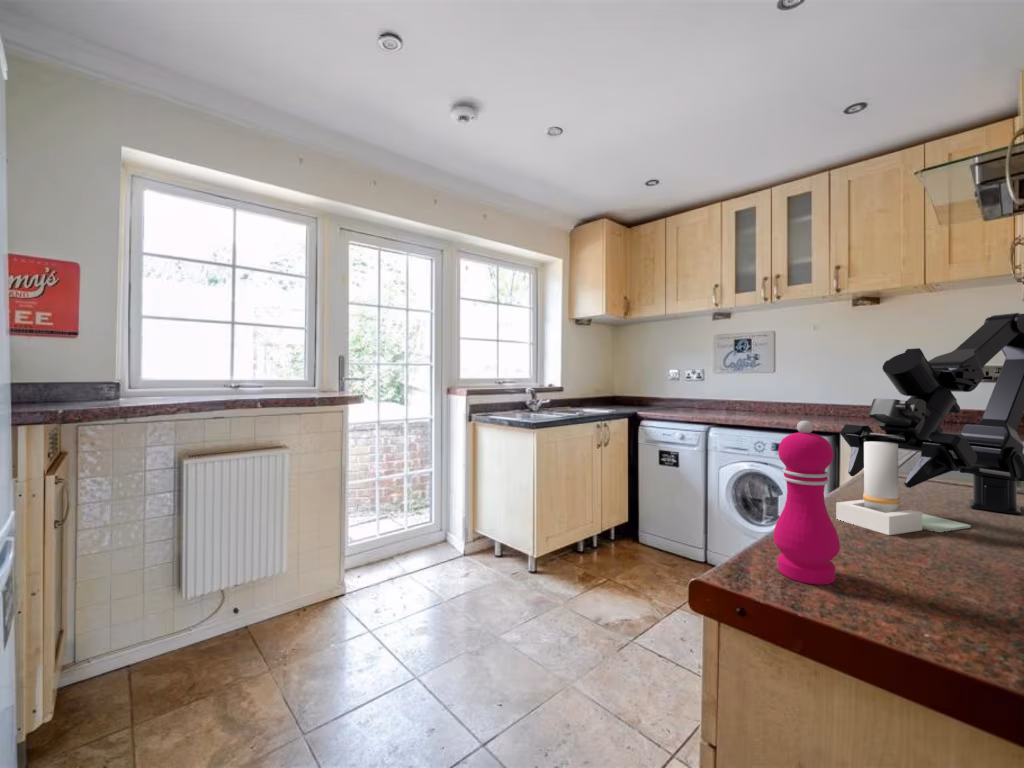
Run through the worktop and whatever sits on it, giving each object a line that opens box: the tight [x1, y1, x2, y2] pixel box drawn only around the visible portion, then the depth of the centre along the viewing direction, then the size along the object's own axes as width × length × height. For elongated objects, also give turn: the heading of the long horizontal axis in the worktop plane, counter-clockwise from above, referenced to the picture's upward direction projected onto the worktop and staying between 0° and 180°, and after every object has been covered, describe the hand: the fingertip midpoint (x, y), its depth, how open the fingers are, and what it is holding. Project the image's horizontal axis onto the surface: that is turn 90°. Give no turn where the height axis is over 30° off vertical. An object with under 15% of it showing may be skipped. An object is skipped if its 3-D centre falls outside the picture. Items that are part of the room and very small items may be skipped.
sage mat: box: [922, 512, 972, 533], centre depth 79 cm, size 8×8×1 cm
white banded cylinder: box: [862, 441, 901, 513], centre depth 79 cm, size 5×5×14 cm
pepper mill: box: [773, 420, 841, 586], centre depth 59 cm, size 7×7×20 cm
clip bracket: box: [835, 498, 923, 536], centre depth 79 cm, size 8×9×3 cm
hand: (877, 480), depth 79 cm, fingers open, 9 cm apart
